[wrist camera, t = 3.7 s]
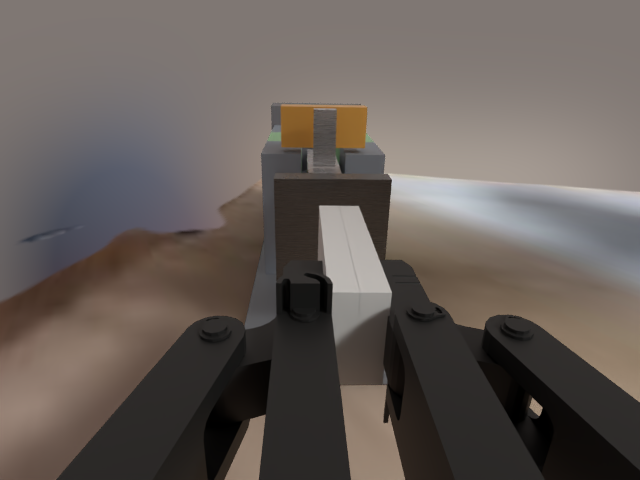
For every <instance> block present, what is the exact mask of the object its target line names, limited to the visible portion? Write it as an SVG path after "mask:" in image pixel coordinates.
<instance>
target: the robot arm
mask: <svg viewBox="0 0 640 480" xmlns="http://www.w3.org/2000/svg"><path fill="white" fill-rule="evenodd" d="M384 369H385V373H386V377H387V380H388V381H387V390H386V400H385V409H384V423H388V418H389V415H390V417H391V422H392V426H393V430H394V434H395V438H396V442H397V447H398V451H399V455H400V459H401V463H402V467H403V471H404V476H405V480H640V403H639V402H638V401H637V400H636V399H634V398H633V397H632V396H630V395H629V394H628V393H626V392H625V391H624V390H622V389H621V388H620V387H619V386H617V385H616V384H615V383H613V382H612V381H611V380H609V379H608V378H607V377H605V376H604V375H603V374H601V373H600V372H599V371H598V370H596V369H595V368H594V367H592V366H591V365H590V364H588V363H587V362H586V361H584V360H583V359H582V358H581V357H579V356H578V355H577V354H575V353H574V352H573V351H571V350H570V349H569V348H567V347H566V346H565V345H564V344H562V343H561V342H560V341H558V340H557V339H556V338H554V337H553V336H552V335H550V334H549V333H548V332H546V331H545V330H544V329H543V328H541V327H540V326H538V325H536V324H535V323H533V322H531V321H529V320H526V319H524V318H522V317H519V316H513V315H496V316H493V317H490V318H489V319H488V320H487V321H486V324H485V329H484V330H481V329H476V328H471V327H465V326H461V325H457V324H455V323H454V321H453V319H452V318H451V316H450V314H449V313H448V312H447V311H446V310H445V309H444V308H443V307H441V306H439V305H437V304H435V303H432V302H430V301H429V299H428V297H427V295H426V293H425V291H424V289H423V287H422V286H421V284H420V282H419V280H418V278H417V277H416V274H415V272H414V270H413V269H412V267H411V266H409V265H408V264H406V263H405V262H404V261H402V260H379V257H378V255H377V252H376V250H375V247H374V244H373V242H372V239H371V237H370V234H369V231H368V229H367V226H366V224H365V221H364V218H363V216H362V213H361V211H360V208H359V206H319V232H318V261H306V260H291V261H290V262H289V263H288V264H287V265H286V266H285V267H284V268H283V276H281V277H280V278H279V279H278V280H277V282H276V317H275V318H274V319H273V320H272V321H270V322H269V323H267V324H265V325H262V326H259V327H255V328H251V329H246V330H245V327H244V325H243V323H242V322H240V321H239V320H238V319H236V318H232V317H228V316H213V317H207V318H204V319H201V320H199V321H197V322H195V323H193V324H192V325H191V326H190V327H188V328H187V329H186V331H185V332H184V333H183V334H182V335H181V336H180V337H179V339H178V340H177V341H176V342H175V343H174V344H173V346H172V347H171V348H170V349H169V350H168V351H167V352H166V354H165V355H164V356H163V357H162V358H161V359H160V361H159V362H158V363H157V364H156V365H155V366H154V367H153V369H152V370H151V371H150V372H149V373H148V374H147V376H146V377H145V378H144V379H143V380H142V381H141V382H140V384H139V385H138V386H137V387H136V388H135V389H134V391H133V392H132V393H131V394H130V395H129V396H128V397H127V399H126V400H125V401H124V402H123V403H122V404H121V406H120V407H119V408H118V409H117V410H116V411H115V412H114V414H113V415H112V416H111V417H110V418H109V419H108V421H107V422H106V423H105V424H104V425H103V426H102V427H101V429H100V430H99V431H98V432H97V433H96V434H95V436H94V437H93V438H92V439H91V440H90V441H89V442H88V444H87V445H86V446H85V447H84V448H83V449H82V451H81V452H80V453H79V454H78V455H77V456H76V457H75V459H74V460H73V461H72V462H71V463H70V464H69V466H68V467H67V468H66V469H65V470H64V471H63V472H62V474H61V475H60V476H59V477H58V478H57V479H56V480H224V479H225V477H226V475H227V472H228V470H229V468H230V466H231V464H232V462H233V459H234V457H235V455H236V453H237V451H238V448H239V446H240V444H241V442H242V440H243V438H244V435H245V433H246V431H247V429H248V426H249V421H250V419H251V418H255V417H258V416H262V415H266V418H265V427H264V436H263V446H262V455H261V465H260V474H259V480H351V477H350V468H349V459H348V451H347V442H346V433H345V425H344V416H343V407H342V399H341V390H340V385H383V376H384ZM532 397H533V398H534V399H535V400H536V401H537V402H538V403H539V404H540V405H541V406H542V407H543V409H542V412H541V415H540V416H538V415H537V414H536V413H534V412H533V411H532V410H531V409H530V408H529V407H530V403H531V400H532Z"/></svg>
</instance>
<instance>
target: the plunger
mask: <svg viewBox="0 0 640 480" xmlns="http://www.w3.org/2000/svg"><path fill="white" fill-rule="evenodd" d="M336 123H337V109H335V108H314V116H313V149H307V173H275V176H274V208H275V247H276V282H277V280H278V279H279V278H280V277H281V276H283V268H284V267H285V266H286V265H287V264H288V263H289V262H290V261H291V260H306V261H318V232H319V206H359V208H360V211H361V213H362V216H363V218H364V221H365V224H366V226H367V229H368V231H369V234H370V237H371V239H372V242H373V244H374V247H375V250H376V252H377V255H378V257H379V260H385V253H386V241H387V230H388V218H389V206H390V195H391V183H392V179H391V178H390V177H389V175H388V174H342V173H341V170H340V167H339V164H338V161H337V158H336Z"/></svg>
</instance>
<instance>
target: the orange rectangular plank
mask: <svg viewBox="0 0 640 480" xmlns="http://www.w3.org/2000/svg"><path fill="white" fill-rule="evenodd" d="M314 108H335V109H337V123H336V148H365V139H366V122H367V107H366V106H363V105H298V104H282V105H281V147H291V148H313V116H314Z"/></svg>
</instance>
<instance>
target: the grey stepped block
mask: <svg viewBox="0 0 640 480" xmlns="http://www.w3.org/2000/svg"><path fill="white" fill-rule="evenodd" d="M282 104H298V105H361V104H316V103H273V104H272V106H271V115H272V131H271V134H270V136H269V138H268V140H267V143H266V144H265V147H264V149H263V151H262V153H261V159H262V161H261V162H262V189H263V217H264V241H263V246H262V250H261V255H260V259H259V264H258V268H257V273H256V277H255V281H254V286H253V290H252V295H251V299H250V304H249V308H248V312H247V317H246V321H245V326H244V327H245V330H246V329H251V328H255V327H259V326H262V325H265V324H267V323H269V322H270V321H272V320H273V319H274V318H275V317H276V247H275V208H274V176H275V173H307V149H313V148H291V147H281V105H282ZM336 158H337V161H338V164H339V167H340V170H341V173H342V174H384V162H385V154H384V153H383V152H382V151H381V150H380V149H379V148H378V146H377V145H376V144H375V143H374V142H373V140H372V139H371V138H370V137H369V136H368V135H367V133H366V139H365V148H336ZM387 381H388V380H387V377H386V373H385V369H384V376H383V384H387Z"/></svg>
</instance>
